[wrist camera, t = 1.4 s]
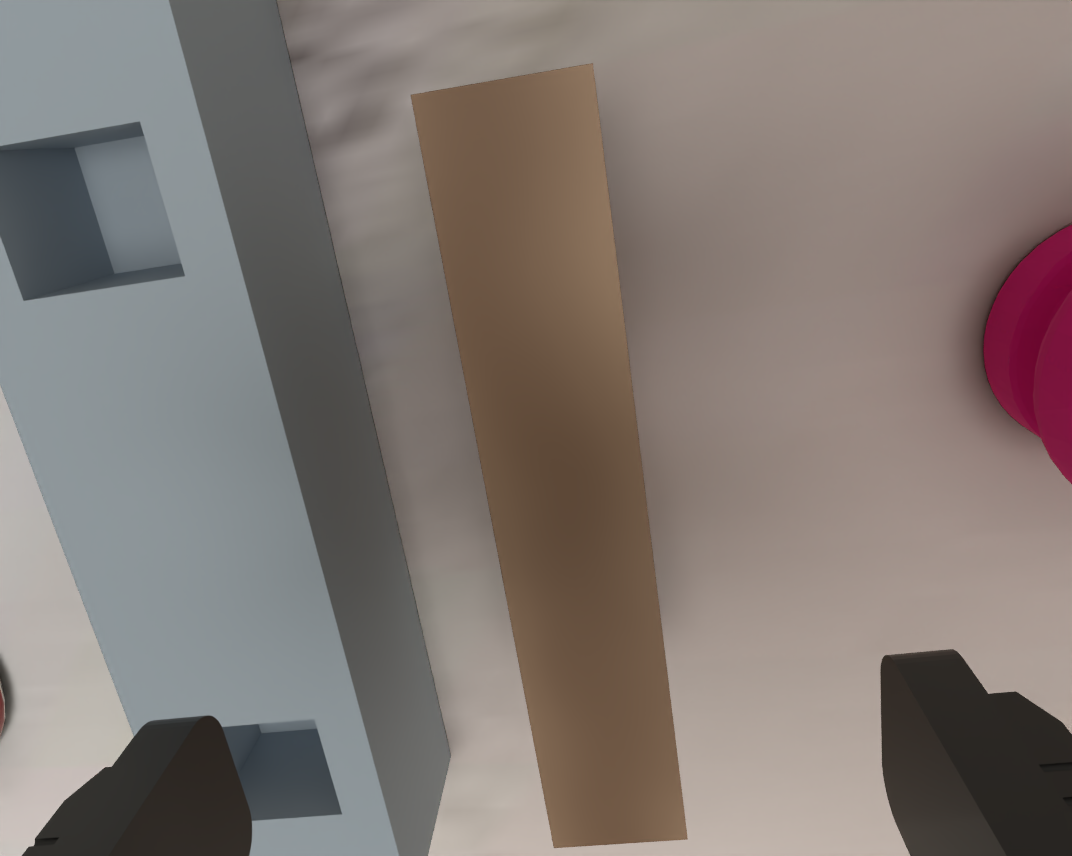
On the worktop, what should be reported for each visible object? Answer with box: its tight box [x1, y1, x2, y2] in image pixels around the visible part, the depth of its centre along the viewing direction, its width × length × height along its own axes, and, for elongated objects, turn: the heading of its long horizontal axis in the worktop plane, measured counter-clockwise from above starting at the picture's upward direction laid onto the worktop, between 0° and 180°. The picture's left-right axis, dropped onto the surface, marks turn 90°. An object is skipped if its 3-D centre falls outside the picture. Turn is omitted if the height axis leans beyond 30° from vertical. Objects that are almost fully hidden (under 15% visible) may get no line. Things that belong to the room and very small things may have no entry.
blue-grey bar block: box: [0, 0, 451, 856], centre depth 22 cm, size 6×24×6 cm, turn 9°
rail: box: [411, 63, 688, 848], centre depth 19 cm, size 3×16×7 cm, turn 9°
